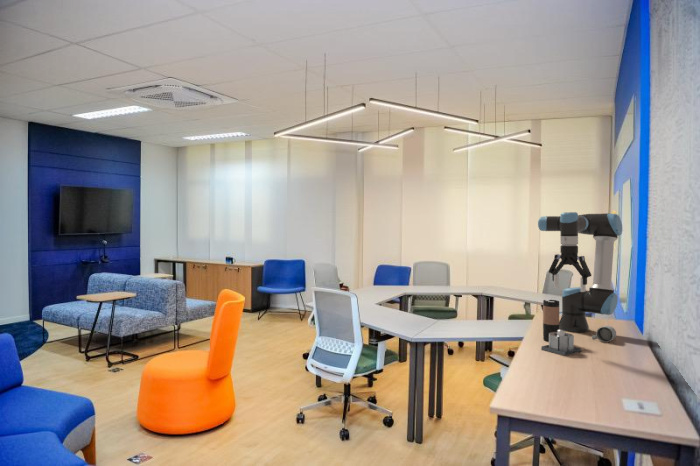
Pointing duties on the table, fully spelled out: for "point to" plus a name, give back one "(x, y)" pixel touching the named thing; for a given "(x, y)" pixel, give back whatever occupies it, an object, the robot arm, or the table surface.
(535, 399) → the table surface
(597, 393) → the table surface
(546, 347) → the shaft block
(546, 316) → the travel mug
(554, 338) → the ring
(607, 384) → the table surface
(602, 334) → the ceramic mug
